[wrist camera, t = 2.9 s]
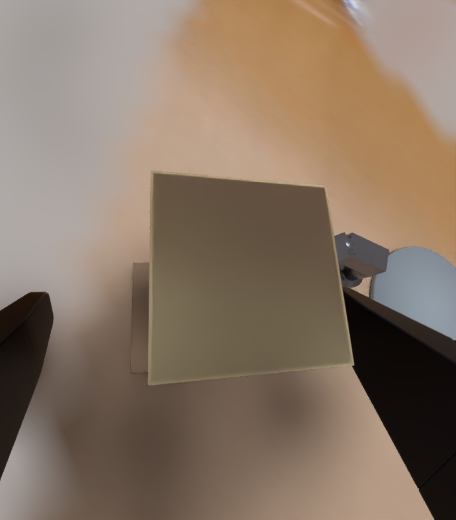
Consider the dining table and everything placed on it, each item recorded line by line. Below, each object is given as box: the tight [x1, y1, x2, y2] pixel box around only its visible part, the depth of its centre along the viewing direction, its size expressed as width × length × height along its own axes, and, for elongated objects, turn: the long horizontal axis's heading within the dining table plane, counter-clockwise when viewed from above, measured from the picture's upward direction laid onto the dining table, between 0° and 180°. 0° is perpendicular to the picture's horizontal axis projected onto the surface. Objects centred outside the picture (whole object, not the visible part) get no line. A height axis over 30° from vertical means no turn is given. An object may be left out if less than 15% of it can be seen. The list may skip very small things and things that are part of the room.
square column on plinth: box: [130, 171, 354, 386], centre depth 11 cm, size 6×6×12 cm
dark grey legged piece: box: [334, 232, 389, 288], centre depth 17 cm, size 4×8×4 cm, turn 81°
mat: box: [370, 247, 456, 340], centre depth 21 cm, size 9×9×1 cm
